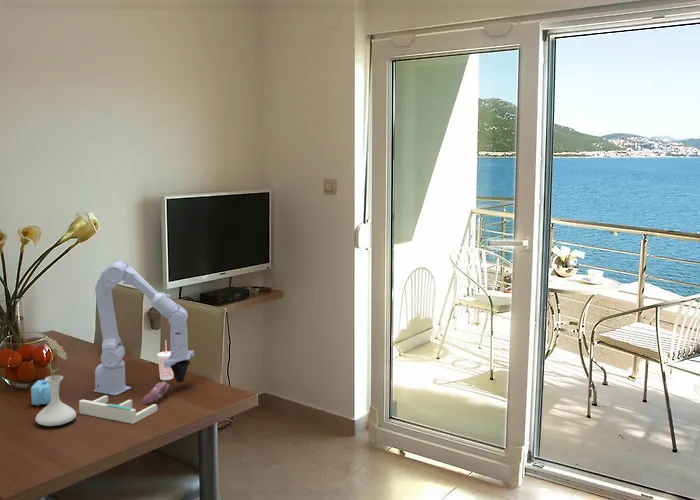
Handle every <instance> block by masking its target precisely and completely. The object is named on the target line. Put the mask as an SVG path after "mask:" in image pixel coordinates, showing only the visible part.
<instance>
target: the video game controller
mask: <svg viewBox="0 0 700 500" xmlns="http://www.w3.org/2000/svg"><path fill="white" fill-rule="evenodd" d="M169 388H170V384H169V383H168V382H166V381H165V380H162V382H158V383H156V384H155V385H154V387H153V388H152V389H151V390H150V392H149V393H147V394H146V395H144V397H142V399H141V402H142V404H143V405H149V404H150V403H152V402H154V403H157V402H158V400H159V399H162V398H163V397H164V395H165V393H166V392H167V391H168V389H169Z"/></svg>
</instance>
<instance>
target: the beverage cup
mask: <svg viewBox="0 0 700 500" xmlns="http://www.w3.org/2000/svg"><path fill="white" fill-rule="evenodd" d="M167 345H168V344H167V340H166V339H165V340H164V346H165V347H164V349H165V351H161V352H158V353H156V354H157V355H156V356H157V357H156V358H157V359H158V369H159V370H158V371H159V378H160V380H162V381H169V380H172V379H174V373H173V371H172V369H171V367H170V368H167V367H164V361H166V360H167V359H168V358H169V357H170V356H171V350H169V351H168V349H167Z"/></svg>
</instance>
